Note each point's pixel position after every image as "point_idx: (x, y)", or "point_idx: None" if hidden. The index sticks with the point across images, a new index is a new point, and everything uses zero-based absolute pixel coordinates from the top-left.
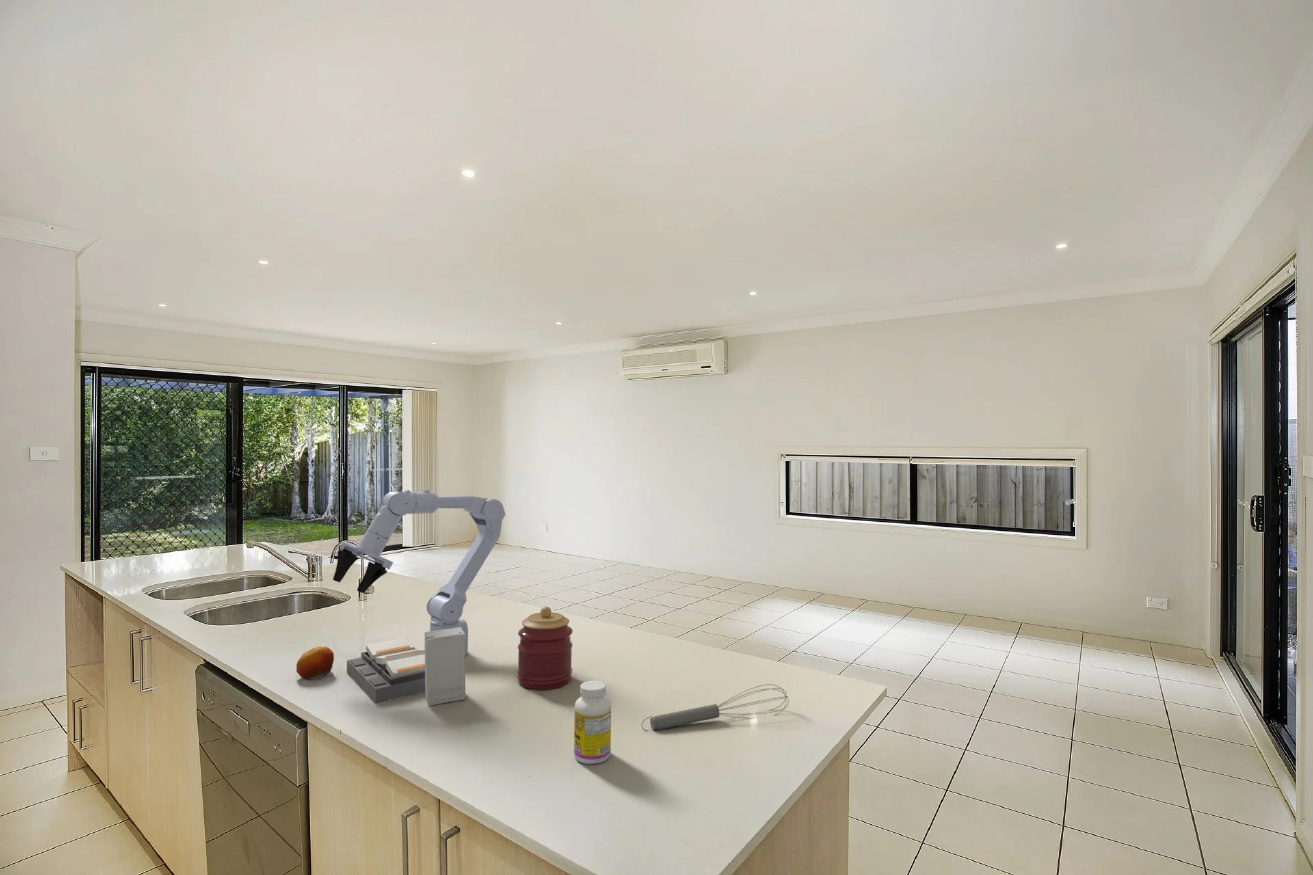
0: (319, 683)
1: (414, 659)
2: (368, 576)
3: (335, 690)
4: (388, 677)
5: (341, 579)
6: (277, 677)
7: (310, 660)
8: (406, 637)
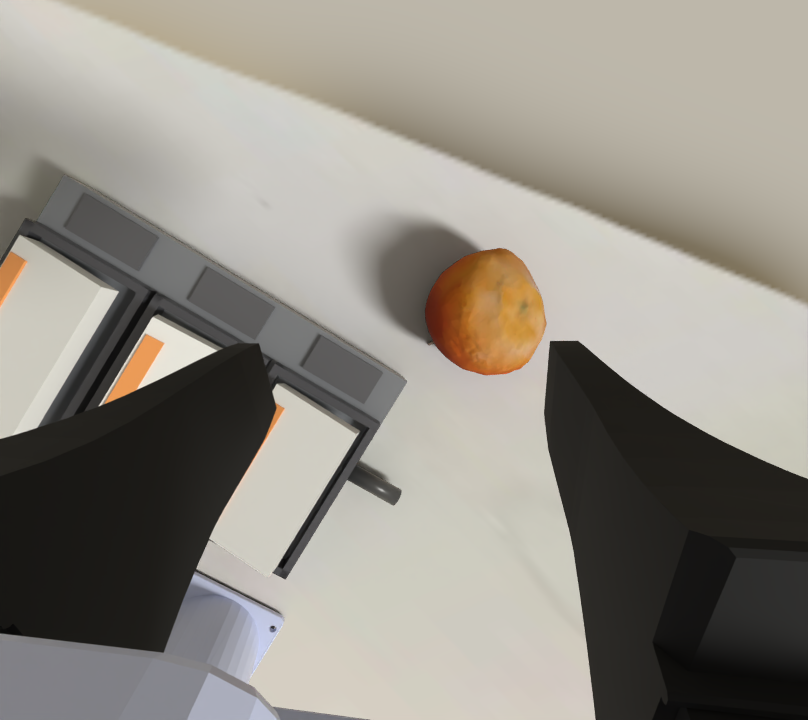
0: (404, 264)
1: (23, 366)
2: (81, 414)
3: (305, 233)
4: (56, 237)
5: (547, 435)
6: (572, 261)
7: (464, 260)
8: (269, 574)
